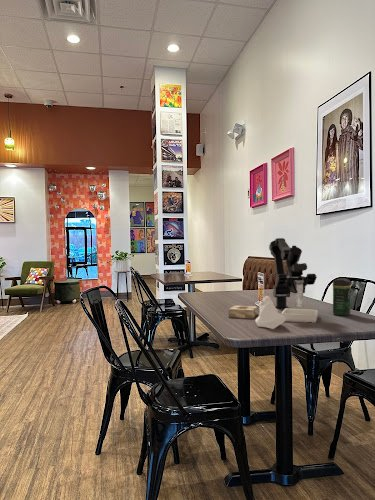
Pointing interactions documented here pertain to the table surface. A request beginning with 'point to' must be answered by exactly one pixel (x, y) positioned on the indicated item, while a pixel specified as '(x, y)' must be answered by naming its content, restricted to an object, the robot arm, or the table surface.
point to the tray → (300, 315)
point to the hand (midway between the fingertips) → (300, 292)
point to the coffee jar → (341, 296)
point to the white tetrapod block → (269, 315)
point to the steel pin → (299, 292)
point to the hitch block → (243, 311)
